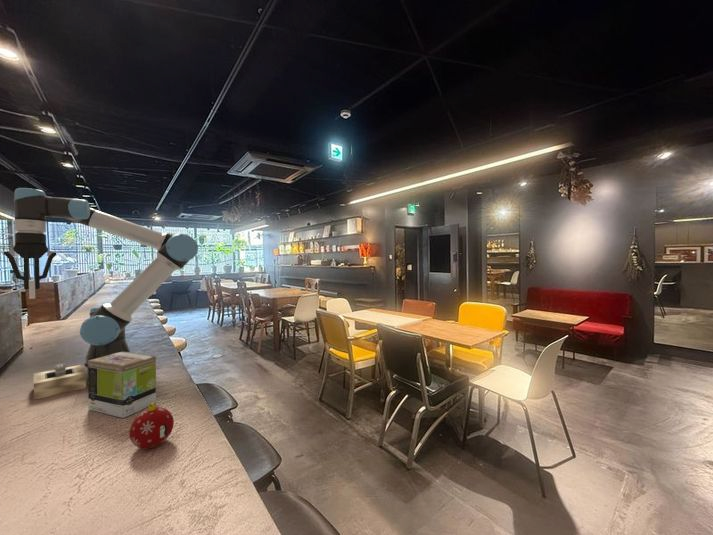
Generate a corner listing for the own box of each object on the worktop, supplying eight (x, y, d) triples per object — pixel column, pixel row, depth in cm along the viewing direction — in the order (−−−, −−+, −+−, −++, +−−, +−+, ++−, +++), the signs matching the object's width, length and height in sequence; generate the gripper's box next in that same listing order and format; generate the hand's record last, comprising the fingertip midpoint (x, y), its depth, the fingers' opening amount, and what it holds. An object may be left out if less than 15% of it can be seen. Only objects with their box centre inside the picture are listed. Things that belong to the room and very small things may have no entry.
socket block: (82, 378, 109) (82, 364, 109) (86, 387, 101) (85, 373, 101) (33, 388, 100) (33, 373, 100) (33, 399, 92) (33, 383, 92)
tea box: (157, 403, 90) (157, 355, 90) (122, 419, 81) (121, 366, 81) (123, 395, 95) (123, 349, 95) (86, 410, 86) (85, 359, 86)
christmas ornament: (162, 430, 76) (161, 392, 76) (181, 441, 71) (180, 400, 71) (122, 449, 68) (121, 406, 68) (140, 462, 64) (140, 416, 64)
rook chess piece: (58, 391, 98) (57, 367, 98) (47, 389, 99) (47, 366, 99) (73, 385, 102) (73, 362, 102) (63, 384, 103) (62, 361, 103)
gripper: (1, 230, 99) (3, 301, 99) (57, 233, 108) (58, 297, 109) (3, 232, 104) (4, 299, 104) (56, 234, 113) (57, 296, 114)
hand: (32, 298), depth 107 cm, fingers closed
